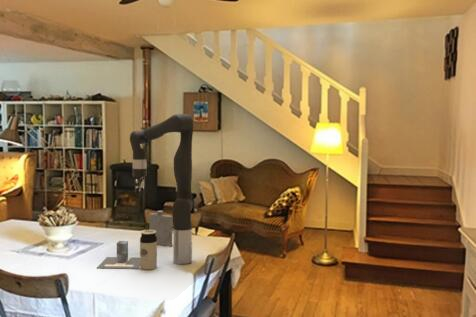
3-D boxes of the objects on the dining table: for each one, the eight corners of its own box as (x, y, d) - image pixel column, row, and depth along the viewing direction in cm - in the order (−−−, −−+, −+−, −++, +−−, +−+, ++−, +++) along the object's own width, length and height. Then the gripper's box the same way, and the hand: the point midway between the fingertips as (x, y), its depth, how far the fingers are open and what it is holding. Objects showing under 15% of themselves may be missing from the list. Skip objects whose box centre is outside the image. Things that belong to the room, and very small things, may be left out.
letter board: (145, 258, 224) (145, 257, 224) (137, 269, 207) (137, 268, 207) (107, 257, 224) (107, 256, 224) (96, 268, 207) (96, 267, 207)
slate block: (128, 260, 219) (127, 241, 218) (125, 263, 215) (125, 243, 214) (119, 260, 219) (119, 240, 218) (116, 262, 215) (116, 243, 214)
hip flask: (173, 245, 249) (173, 211, 247) (168, 247, 245) (169, 212, 244) (151, 241, 256) (151, 208, 255) (147, 243, 253) (147, 209, 251)
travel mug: (149, 263, 216) (149, 228, 214) (160, 267, 211) (160, 231, 209) (136, 267, 210) (136, 231, 208) (147, 271, 205) (147, 234, 203)
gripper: (143, 169, 227) (143, 199, 228) (149, 166, 241) (149, 195, 243) (129, 168, 227) (129, 199, 228) (135, 166, 241) (135, 194, 243)
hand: (139, 196), depth 236 cm, fingers open, 8 cm apart
